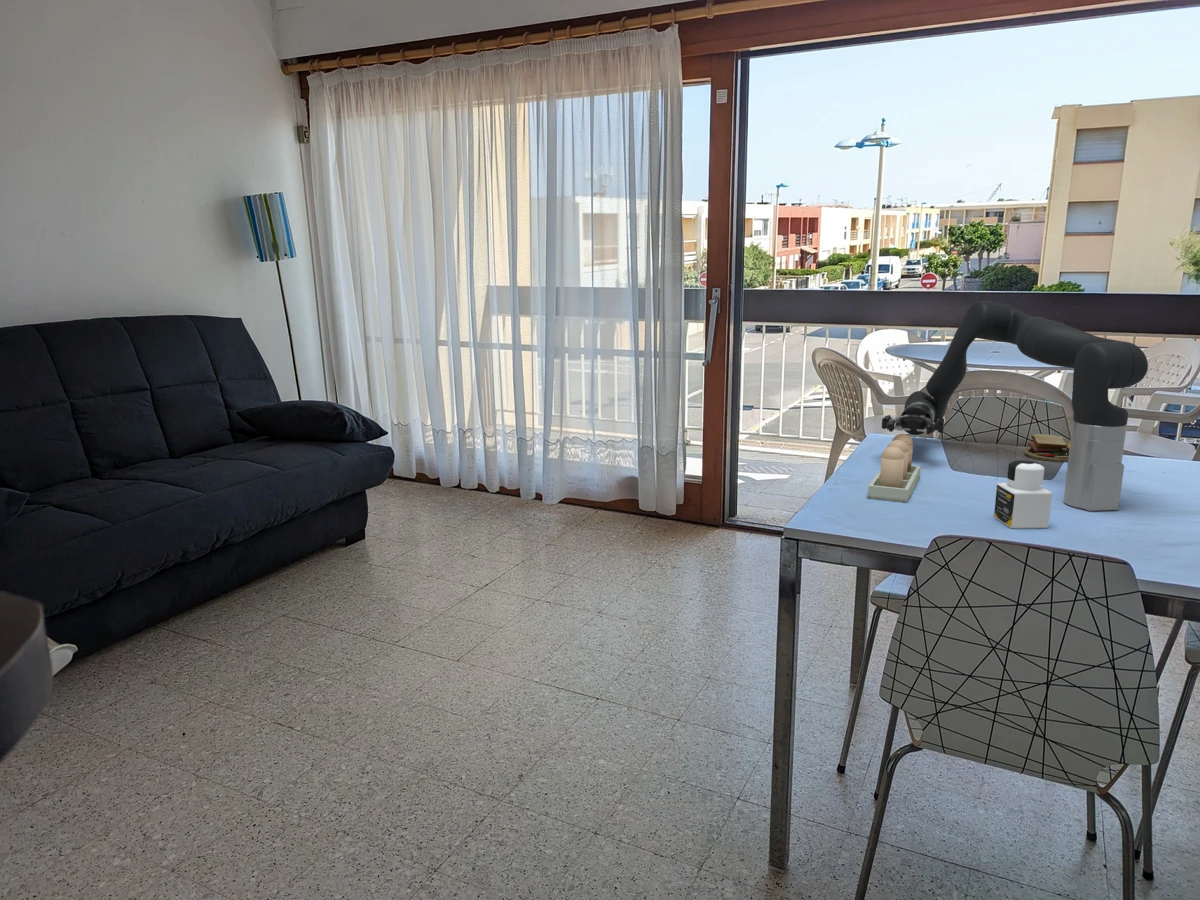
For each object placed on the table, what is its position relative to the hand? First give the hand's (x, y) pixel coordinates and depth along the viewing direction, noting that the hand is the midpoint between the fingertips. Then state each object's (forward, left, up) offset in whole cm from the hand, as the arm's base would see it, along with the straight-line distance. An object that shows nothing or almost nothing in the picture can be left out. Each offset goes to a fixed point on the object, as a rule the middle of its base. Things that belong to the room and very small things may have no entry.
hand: (909, 428), depth 190 cm
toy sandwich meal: (+10, -41, -11) cm, 44 cm away
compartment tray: (-15, +9, -10) cm, 20 cm away
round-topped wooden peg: (-9, +5, -10) cm, 14 cm away
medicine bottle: (-41, -5, -10) cm, 43 cm away
